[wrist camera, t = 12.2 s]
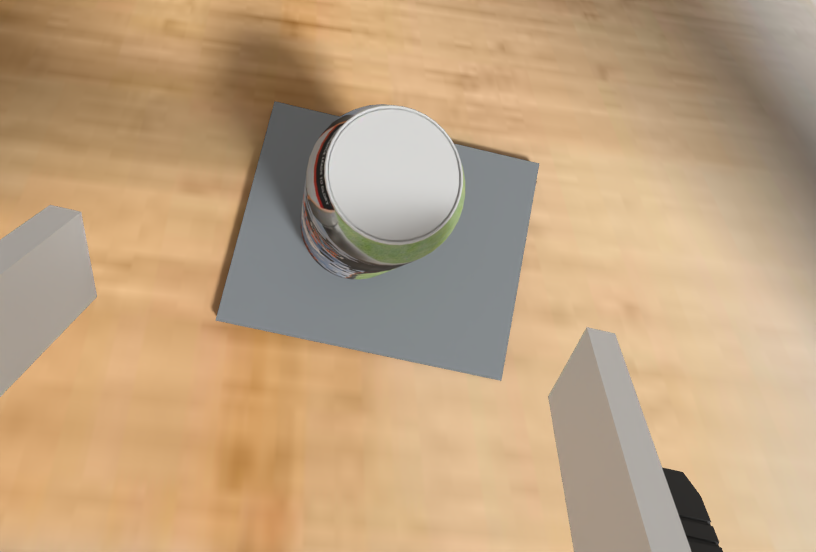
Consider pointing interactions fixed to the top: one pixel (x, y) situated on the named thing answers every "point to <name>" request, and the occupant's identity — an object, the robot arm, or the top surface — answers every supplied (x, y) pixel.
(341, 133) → the beverage can
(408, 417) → the top surface
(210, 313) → the top surface
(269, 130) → the rubber mat
